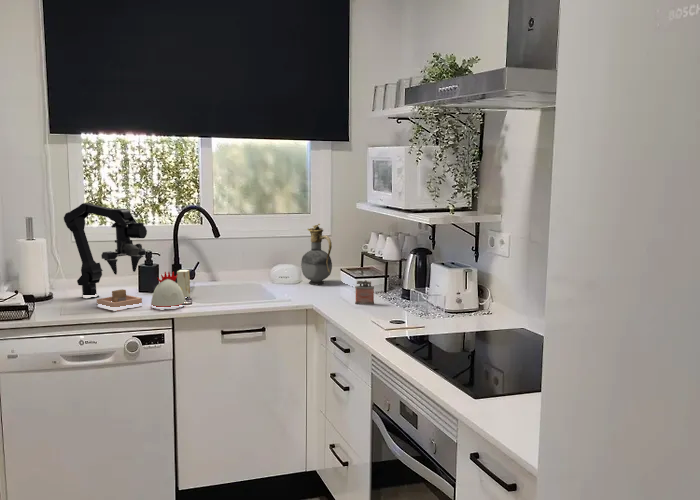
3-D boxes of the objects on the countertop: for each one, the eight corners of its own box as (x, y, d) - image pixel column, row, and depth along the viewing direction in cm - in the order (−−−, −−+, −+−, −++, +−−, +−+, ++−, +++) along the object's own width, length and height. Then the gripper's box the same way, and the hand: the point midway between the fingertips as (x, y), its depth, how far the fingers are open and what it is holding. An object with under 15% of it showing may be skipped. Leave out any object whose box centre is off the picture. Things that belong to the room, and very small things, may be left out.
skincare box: (187, 298, 296) (186, 271, 295) (177, 298, 296) (176, 271, 295) (190, 295, 303) (189, 269, 301) (181, 295, 303) (180, 269, 301)
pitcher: (315, 280, 341) (314, 221, 337) (339, 285, 327) (339, 224, 323) (298, 282, 334) (297, 223, 330) (322, 288, 320) (321, 225, 316)
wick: (112, 305, 279) (111, 291, 278) (123, 303, 283) (122, 289, 282) (116, 305, 278) (115, 291, 277) (126, 303, 282) (125, 289, 281)
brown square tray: (97, 307, 280) (96, 298, 279) (124, 302, 290) (124, 293, 289) (114, 311, 271) (114, 302, 271) (142, 306, 282) (141, 296, 281)
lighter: (374, 303, 285) (374, 280, 284) (373, 304, 282) (373, 281, 281) (355, 302, 286) (355, 279, 285) (354, 304, 283) (354, 281, 281)
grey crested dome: (187, 308, 277) (186, 272, 275) (153, 311, 272) (151, 275, 270) (182, 302, 290) (181, 268, 288) (150, 304, 285) (148, 270, 283)
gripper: (114, 241, 279) (116, 277, 281) (152, 237, 293) (154, 272, 295) (99, 239, 286) (101, 275, 288) (137, 235, 300) (139, 269, 302)
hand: (125, 273), depth 293 cm, fingers open, 9 cm apart
